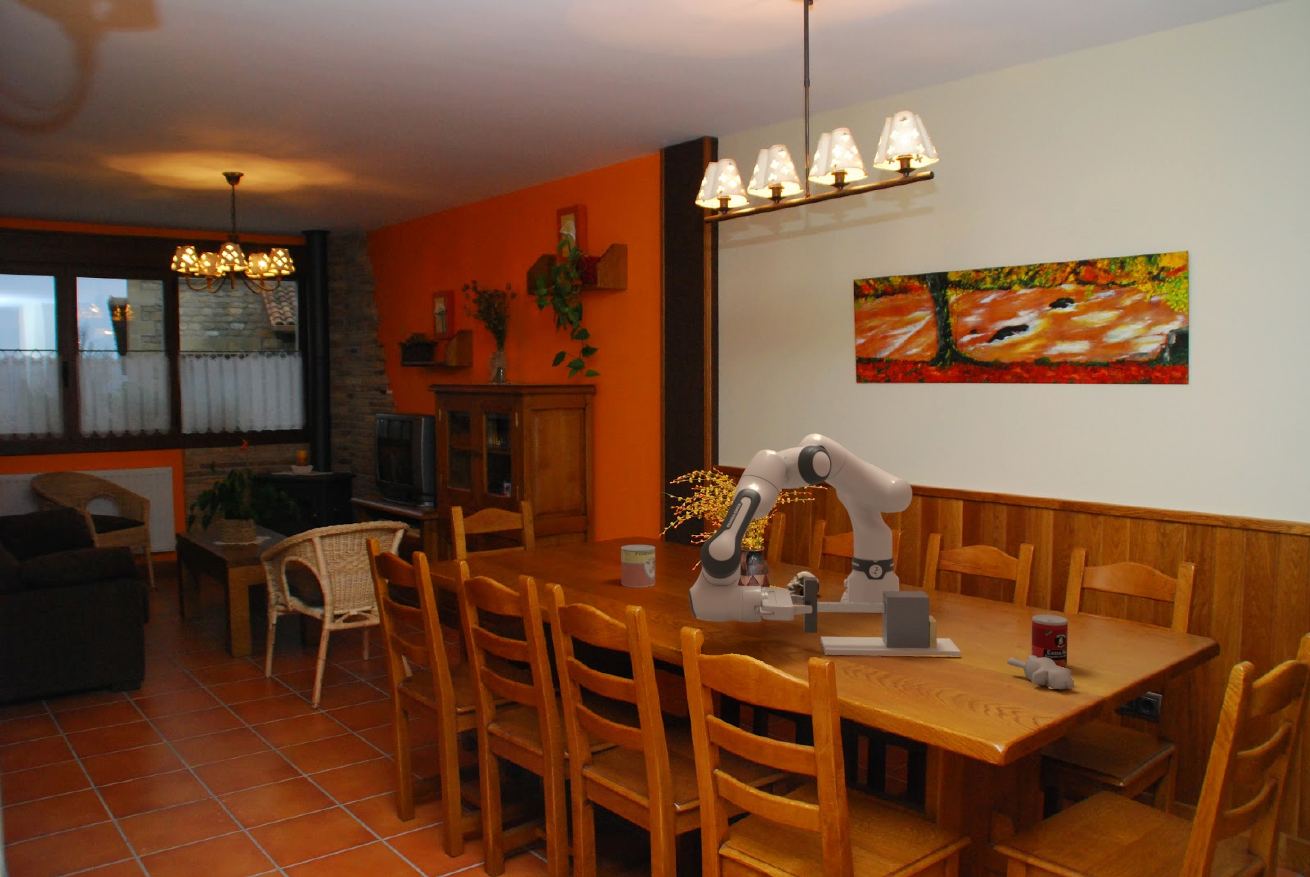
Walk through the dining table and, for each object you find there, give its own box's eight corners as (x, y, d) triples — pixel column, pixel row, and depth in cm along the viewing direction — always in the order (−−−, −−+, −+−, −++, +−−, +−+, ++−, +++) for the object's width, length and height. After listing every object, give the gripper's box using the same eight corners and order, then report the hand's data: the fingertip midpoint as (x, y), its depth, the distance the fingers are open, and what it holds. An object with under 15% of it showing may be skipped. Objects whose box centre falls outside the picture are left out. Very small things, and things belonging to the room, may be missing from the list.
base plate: (820, 642, 250) (820, 636, 250) (949, 644, 248) (949, 638, 248) (825, 655, 238) (825, 649, 238) (960, 657, 236) (960, 651, 236)
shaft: (803, 628, 246) (803, 577, 246) (915, 630, 244) (916, 578, 244) (804, 632, 242) (804, 580, 242) (918, 634, 240) (919, 581, 240)
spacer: (925, 641, 246) (925, 615, 245) (931, 641, 245) (931, 615, 245) (929, 647, 239) (930, 621, 239) (936, 648, 239) (936, 621, 239)
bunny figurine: (1048, 676, 208) (1003, 650, 222) (1046, 699, 209) (1001, 671, 223) (1085, 672, 211) (1038, 646, 225) (1083, 694, 212) (1036, 667, 226)
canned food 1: (643, 588, 316) (643, 551, 316) (614, 585, 322) (614, 548, 322) (661, 582, 326) (661, 546, 325) (633, 579, 332) (632, 543, 331)
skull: (780, 596, 299) (781, 567, 305) (783, 613, 307) (785, 585, 313) (820, 597, 296) (821, 568, 302) (822, 614, 304) (823, 585, 310)
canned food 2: (1045, 671, 225) (1046, 623, 224) (1023, 661, 232) (1024, 615, 232) (1074, 668, 227) (1075, 621, 226) (1051, 659, 234) (1052, 613, 234)
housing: (882, 646, 247) (882, 590, 246) (923, 646, 246) (923, 591, 245) (886, 653, 240) (887, 597, 239) (928, 654, 239) (929, 597, 238)
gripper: (755, 600, 235) (813, 601, 233) (753, 583, 255) (807, 583, 254) (755, 626, 235) (813, 627, 234) (753, 607, 255) (807, 607, 254)
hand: (810, 604), depth 244 cm, fingers open, 8 cm apart
